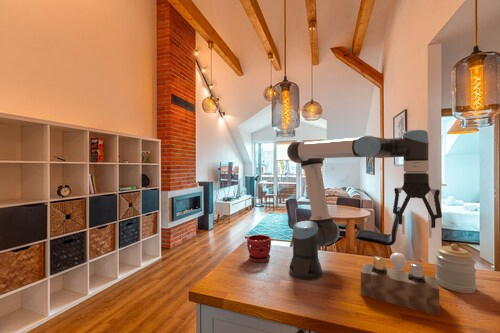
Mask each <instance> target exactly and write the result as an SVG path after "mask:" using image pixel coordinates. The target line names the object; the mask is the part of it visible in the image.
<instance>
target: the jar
mask: <svg viewBox="0 0 500 333" xmlns="http://www.w3.org/2000/svg"><path fill="white" fill-rule="evenodd" d="M436 251H437V252H435V253H434V256H435V257H436V260H435V261H434V263H435V275H434V277H436V280H437V283H438V286H441V287H442V288H445V289H446V290H449V291H452V292H457V293H461V294H473V293H476V290H477V284H476V282H477V278H476V275H477V274H476V272H477V269H476V267H475V265H476V264H477V261H476V259H474V258H473V257H474V254H473V253H472V252H469V251H468V250H467V249H465V248H461V247H459V244H457V243H451V244H450V245H443V246H441V247H438V248H437V250H436Z"/></svg>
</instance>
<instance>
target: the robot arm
mask: <svg viewBox="0 0 500 333" xmlns="http://www.w3.org/2000/svg"><path fill="white" fill-rule="evenodd" d="M429 145H430V142H429V134H428V131H427V130H425V129H413V130H407V131H403V134H402V136H401V137H394V138H393V137H392V138H387V137H378V136H373V135H362V136H360V137H351V138H342V139H333V140H332V139H331V140H321V141H320V140H319V141H309V140H308V141H307V140H295V141H292V142H291V143H290V144H289V145H288V146H287V150H286V153H287V156H288V158H289V160H290V161H292V162H293V163H295V164H296V163H297V164H300V168H301V169H302V170H303V171H304V175H305V180H306V182H305V183H306V188H307V194H308V199H309V201H308V202H309V207H310V211H311V216H310V218H309V220H304V221H302V220H301V221H299V222H296V223H295V224H293V227H292V232H291V233H292V257H291V260H290V263H289V267H288V268H289V274H290V275H291V276H292V277H295V278H297V279H299V280H304V281H310V280H312V281H313V280H318V279H321V277H322V276H323V269H322V266H321V262H320V259H319V248H322V247H326V246H328V245H332V244H333V243H335V242H336V241H338V239H339V237H340V235H341V234H340V232H341V230H340V227H339V225H338V223H336V221H335V220H334V218H333V216H332V215H331V214H330V212H329V207H328V203H327V196H326V190H325V184H324V178H323V171H322V167H323V166H324V160H325V159H337V158H341V159H342V158H374V159H375V158H376V159H385V158H387V159H388V158H403V172H404V173H403V185H402V186H401V187H394V189H393V191H394V194H395V195H394V202H393V208H392V214H394V215H397V216H398V221H397V222H398V225H400V226H401V228H402V229H401V233H402V235H406V234H405V227H406V226H405V225H406V224H405V223H406V222H405V215H404V212H405V210H406V208H407V205H408V204H409V201H410V200H411V199H422V202H423V203H424V206H425V208H426V210H427V212H428V214H429V216H430V217H427V237H428V238H429V239H430V238H431V239H432V237H433V236H432V229H435V228H436V219H441V218H443V213H442V208H441V202H440V197H439V196H440V192H441V191H440V189H439V188H431V187H430V182H429V181H430V178H429V176H430V175H429V173H428V172H429V171H430V168H429ZM402 191H403V192H404V193H405V194H406V196H405V199H404V201H403V202H402V204H401V207H400V209H399V210H398V205H399V199H400V194H402ZM429 192H431V195H433V201H434V207H435V212H436V213H435V214H434V211H433V209H432V207H431V205H430V203H429V201H428V199H427V197H426V196H427V195H428V194H429Z"/></svg>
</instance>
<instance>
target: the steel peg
mask: <svg viewBox="0 0 500 333" xmlns="http://www.w3.org/2000/svg"><path fill="white" fill-rule="evenodd" d="M409 272H410V273H409V276H410V280H412V281H417V282H421V283H423V280H424V265H422V264H420V263H416V262H410V263H409Z"/></svg>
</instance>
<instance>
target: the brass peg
mask: <svg viewBox="0 0 500 333" xmlns="http://www.w3.org/2000/svg"><path fill="white" fill-rule="evenodd" d="M372 265H373V269H374V272H375V273H380V274H384V275H385V271H386V268H387V267H386V258H384V257H382V256H377V255H375V256H373V264H372ZM385 267H386V268H385Z"/></svg>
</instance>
